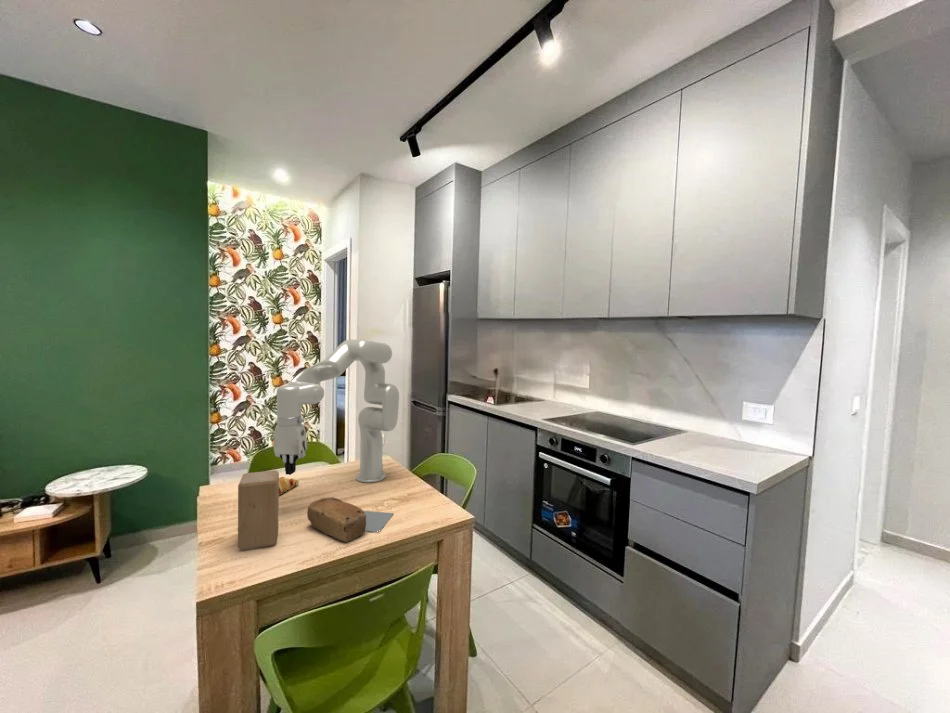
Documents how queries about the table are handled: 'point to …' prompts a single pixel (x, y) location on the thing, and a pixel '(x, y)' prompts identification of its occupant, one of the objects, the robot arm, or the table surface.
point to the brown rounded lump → (337, 518)
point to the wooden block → (258, 509)
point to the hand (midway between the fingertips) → (290, 473)
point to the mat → (376, 520)
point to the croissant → (286, 484)
